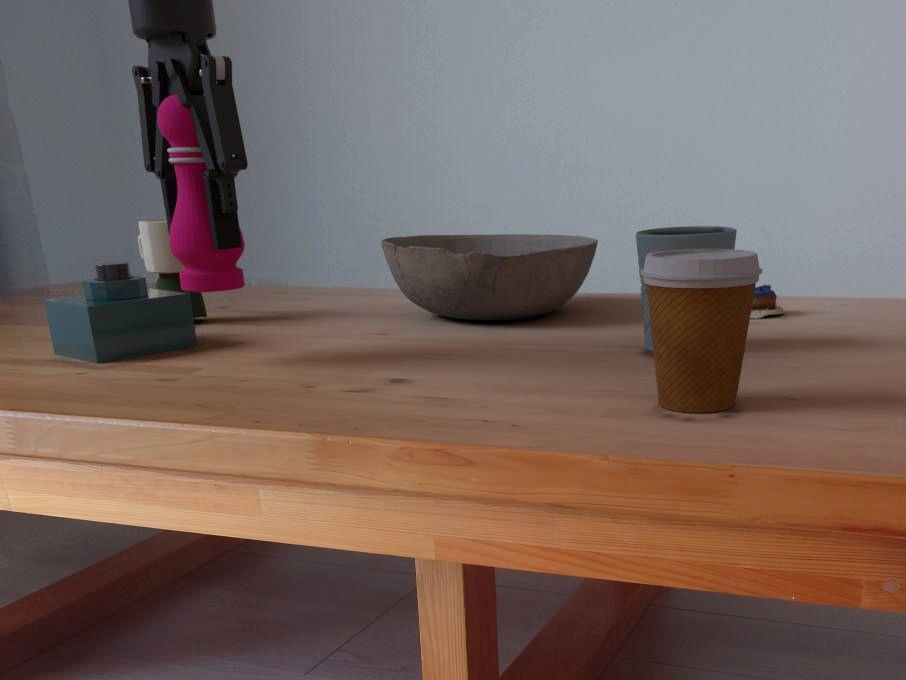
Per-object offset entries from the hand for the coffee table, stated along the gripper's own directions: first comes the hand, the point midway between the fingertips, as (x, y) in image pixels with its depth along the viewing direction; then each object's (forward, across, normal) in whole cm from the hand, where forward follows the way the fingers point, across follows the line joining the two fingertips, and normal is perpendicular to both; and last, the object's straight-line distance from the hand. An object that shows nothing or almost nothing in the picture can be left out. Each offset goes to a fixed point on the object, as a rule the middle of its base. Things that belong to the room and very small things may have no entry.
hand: (205, 246), depth 102 cm
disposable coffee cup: (+12, -51, -12) cm, 54 cm away
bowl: (+12, -2, -40) cm, 41 cm away
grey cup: (+12, -36, -33) cm, 50 cm away
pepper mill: (+4, 0, 0) cm, 4 cm away
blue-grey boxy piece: (+12, +16, +2) cm, 20 cm away
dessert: (+12, -31, -57) cm, 66 cm away
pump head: (+4, +16, +2) cm, 17 cm away
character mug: (+12, +29, -13) cm, 34 cm away
